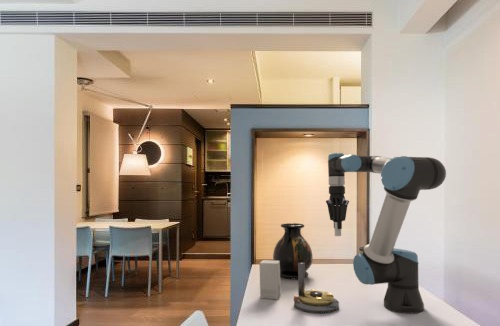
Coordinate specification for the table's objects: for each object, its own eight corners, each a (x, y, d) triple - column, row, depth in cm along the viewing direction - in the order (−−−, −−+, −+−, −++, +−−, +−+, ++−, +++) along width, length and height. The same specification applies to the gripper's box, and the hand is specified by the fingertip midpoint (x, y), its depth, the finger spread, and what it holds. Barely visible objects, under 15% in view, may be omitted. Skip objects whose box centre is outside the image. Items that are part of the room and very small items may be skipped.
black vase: (304, 283, 188) (303, 227, 189) (266, 278, 198) (266, 225, 200) (318, 274, 206) (318, 223, 208) (283, 270, 217) (283, 221, 218)
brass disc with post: (329, 295, 160) (329, 259, 161) (337, 305, 146) (336, 267, 147) (296, 295, 160) (295, 259, 161) (301, 305, 146) (300, 267, 147)
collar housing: (348, 308, 150) (348, 295, 150) (314, 316, 140) (314, 302, 141) (317, 296, 165) (317, 284, 166) (284, 303, 156) (284, 290, 156)
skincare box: (280, 295, 167) (280, 260, 168) (278, 300, 161) (277, 263, 162) (262, 294, 169) (262, 259, 170) (259, 298, 163) (259, 262, 164)
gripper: (352, 185, 174) (354, 236, 172) (332, 186, 185) (333, 234, 182) (341, 185, 170) (342, 237, 168) (321, 185, 181) (322, 235, 178)
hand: (337, 235), depth 175 cm, fingers closed
